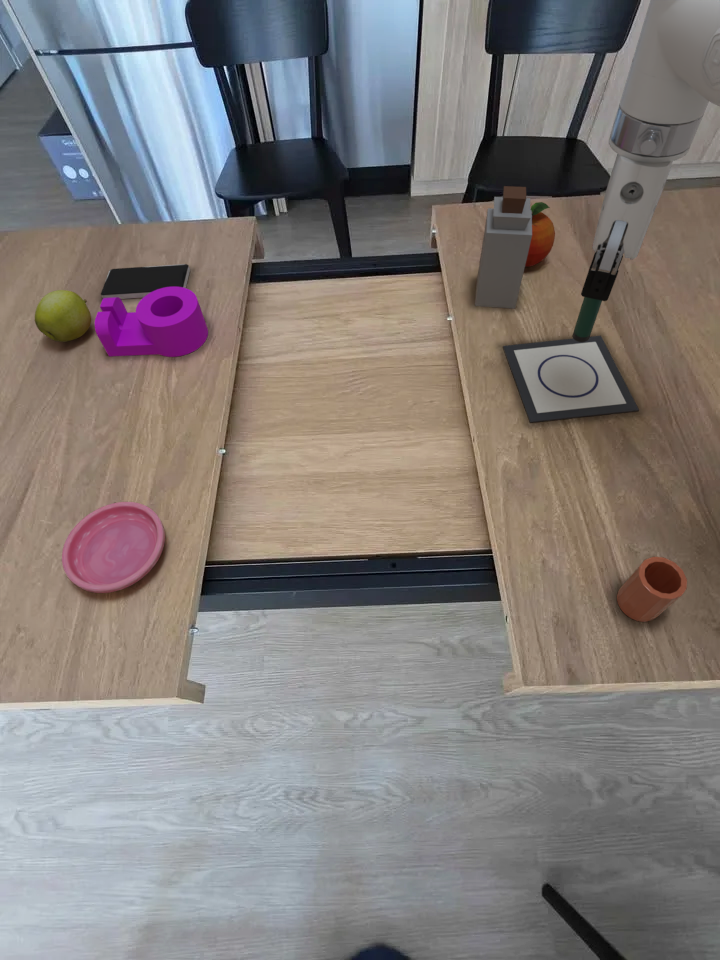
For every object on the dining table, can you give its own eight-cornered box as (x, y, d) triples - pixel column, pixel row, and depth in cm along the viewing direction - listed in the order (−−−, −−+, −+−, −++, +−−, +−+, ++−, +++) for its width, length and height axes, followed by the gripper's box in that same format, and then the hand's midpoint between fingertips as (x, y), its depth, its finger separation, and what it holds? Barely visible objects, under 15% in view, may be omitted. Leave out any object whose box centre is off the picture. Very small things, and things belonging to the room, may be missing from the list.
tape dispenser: (211, 315, 96) (201, 285, 91) (203, 355, 91) (192, 325, 86) (121, 319, 97) (106, 289, 92) (107, 359, 91) (90, 330, 86)
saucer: (64, 537, 73) (52, 525, 70) (156, 498, 76) (147, 485, 73) (83, 617, 66) (71, 608, 64) (182, 572, 69) (174, 561, 67)
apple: (110, 323, 96) (90, 284, 90) (75, 357, 92) (51, 319, 85) (76, 312, 99) (53, 273, 92) (40, 345, 94) (14, 307, 87)
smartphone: (110, 268, 104) (188, 263, 103) (112, 273, 105) (190, 268, 104) (99, 295, 99) (182, 290, 99) (102, 301, 100) (184, 296, 100)
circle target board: (600, 336, 89) (601, 334, 89) (638, 411, 80) (639, 409, 80) (502, 347, 89) (503, 345, 89) (529, 423, 80) (530, 421, 80)
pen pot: (650, 580, 66) (675, 553, 60) (667, 619, 63) (695, 596, 57) (610, 584, 66) (631, 558, 60) (625, 624, 63) (649, 601, 57)
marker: (586, 330, 75) (615, 241, 65) (592, 341, 74) (623, 253, 63) (569, 332, 75) (596, 244, 65) (575, 343, 74) (603, 255, 63)
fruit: (485, 253, 103) (493, 200, 95) (528, 238, 105) (540, 186, 97) (514, 281, 98) (525, 229, 90) (558, 266, 100) (574, 213, 92)
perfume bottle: (515, 308, 94) (538, 206, 79) (475, 305, 95) (490, 204, 80) (515, 283, 98) (537, 181, 83) (476, 281, 99) (492, 179, 84)
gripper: (686, 175, 48) (616, 338, 64) (703, 98, 56) (638, 259, 72) (598, 161, 50) (550, 323, 66) (627, 89, 58) (579, 248, 74)
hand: (596, 289), depth 68 cm, fingers closed on marker, 2 cm apart
